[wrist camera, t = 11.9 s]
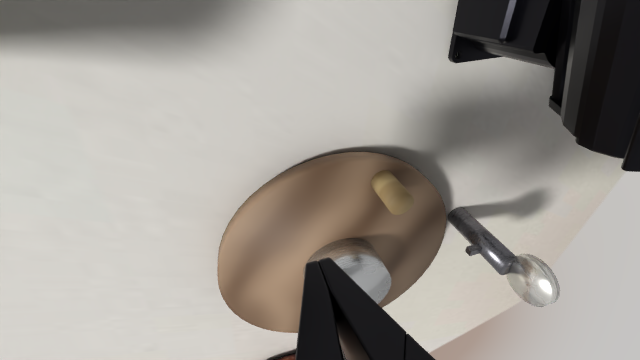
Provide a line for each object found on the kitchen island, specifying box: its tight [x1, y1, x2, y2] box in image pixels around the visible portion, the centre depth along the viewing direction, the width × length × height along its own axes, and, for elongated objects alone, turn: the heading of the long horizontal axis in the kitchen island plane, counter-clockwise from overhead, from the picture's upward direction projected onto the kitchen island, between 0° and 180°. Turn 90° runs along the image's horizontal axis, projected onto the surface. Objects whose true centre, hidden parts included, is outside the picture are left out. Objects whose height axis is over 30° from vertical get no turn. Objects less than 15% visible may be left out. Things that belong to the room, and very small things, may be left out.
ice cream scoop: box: [448, 207, 560, 307], centre depth 25 cm, size 3×4×10 cm
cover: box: [303, 238, 391, 304], centre depth 25 cm, size 7×7×3 cm
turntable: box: [218, 152, 446, 333], centre depth 25 cm, size 21×21×4 cm
